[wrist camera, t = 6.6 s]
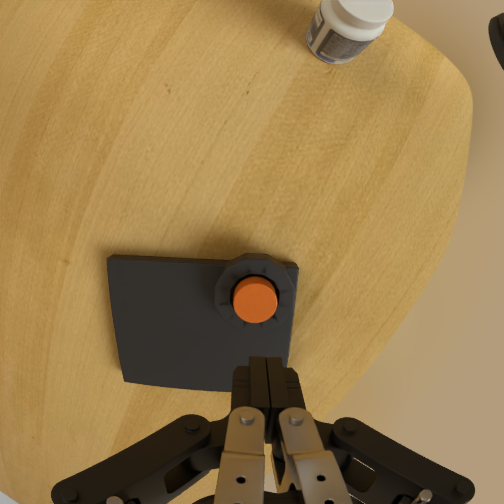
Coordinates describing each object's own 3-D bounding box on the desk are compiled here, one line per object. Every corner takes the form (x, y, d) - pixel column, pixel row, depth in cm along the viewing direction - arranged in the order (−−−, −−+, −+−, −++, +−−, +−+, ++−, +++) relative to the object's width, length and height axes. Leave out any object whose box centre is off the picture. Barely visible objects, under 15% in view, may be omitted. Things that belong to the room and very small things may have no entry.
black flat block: (297, 250, 26) (304, 261, 23) (281, 384, 30) (285, 403, 27) (111, 242, 25) (97, 251, 22) (127, 374, 29) (119, 391, 26)
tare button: (276, 277, 24) (279, 284, 22) (273, 314, 24) (275, 323, 23) (234, 275, 23) (234, 282, 22) (233, 313, 24) (232, 322, 23)
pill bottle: (368, 50, 21) (412, 14, 13) (330, 74, 22) (367, 38, 14) (332, 11, 20) (364, -36, 12) (293, 34, 21) (313, -16, 13)
